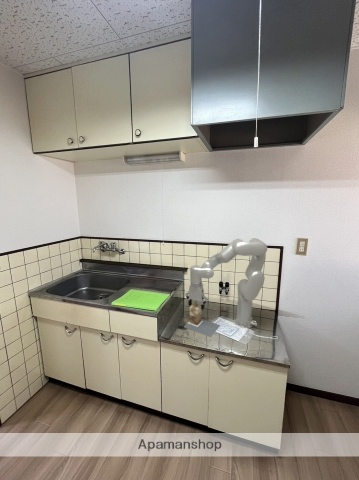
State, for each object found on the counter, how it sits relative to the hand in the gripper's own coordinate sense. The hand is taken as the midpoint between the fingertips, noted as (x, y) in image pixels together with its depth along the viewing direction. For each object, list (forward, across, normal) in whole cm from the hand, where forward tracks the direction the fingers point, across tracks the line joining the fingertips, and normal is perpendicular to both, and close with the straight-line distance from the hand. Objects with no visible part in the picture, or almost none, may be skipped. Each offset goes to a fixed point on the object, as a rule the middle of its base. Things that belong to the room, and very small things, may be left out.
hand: (196, 307), depth 151 cm
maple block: (+5, 0, 0) cm, 5 cm away
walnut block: (+11, 0, 0) cm, 11 cm away
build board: (+12, -5, +2) cm, 13 cm away
